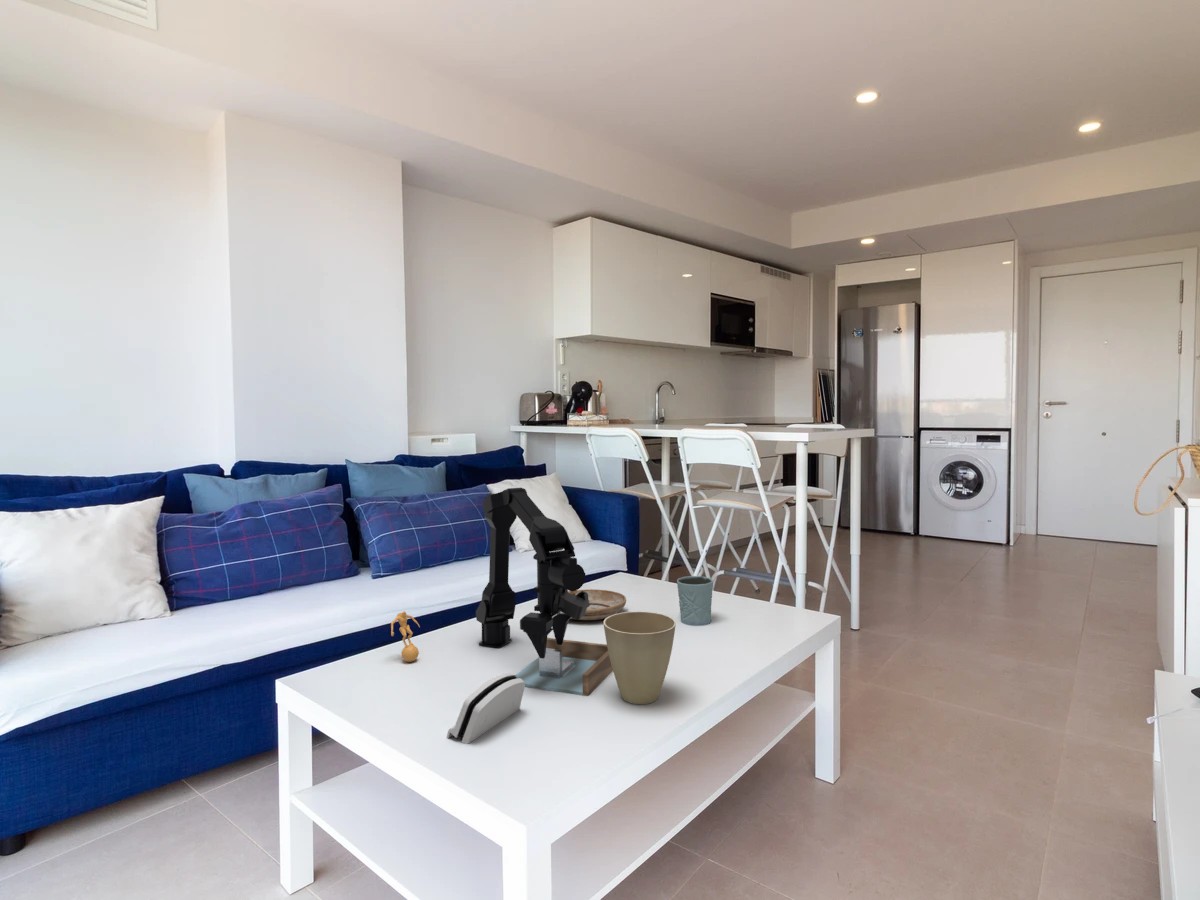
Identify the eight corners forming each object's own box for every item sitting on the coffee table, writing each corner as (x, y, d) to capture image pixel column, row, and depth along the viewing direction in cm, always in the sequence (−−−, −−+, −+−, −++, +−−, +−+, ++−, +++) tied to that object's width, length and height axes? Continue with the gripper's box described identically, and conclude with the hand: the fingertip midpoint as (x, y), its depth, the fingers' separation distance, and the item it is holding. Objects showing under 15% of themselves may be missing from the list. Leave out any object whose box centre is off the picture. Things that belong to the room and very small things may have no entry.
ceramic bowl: (599, 600, 214) (599, 584, 214) (641, 618, 194) (641, 601, 194) (535, 611, 202) (534, 595, 201) (572, 631, 182) (572, 613, 181)
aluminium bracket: (559, 678, 146) (559, 651, 146) (539, 675, 148) (539, 649, 148) (574, 666, 154) (573, 640, 153) (554, 663, 155) (554, 638, 155)
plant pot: (589, 699, 136) (588, 623, 136) (633, 678, 148) (632, 607, 147) (648, 720, 127) (647, 638, 126) (690, 695, 138) (689, 619, 138)
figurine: (401, 668, 155) (400, 617, 155) (385, 663, 159) (384, 613, 158) (429, 657, 162) (428, 609, 162) (413, 653, 166) (411, 605, 165)
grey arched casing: (499, 703, 135) (512, 660, 133) (518, 715, 133) (531, 672, 131) (444, 738, 120) (458, 691, 118) (464, 752, 118) (478, 704, 116)
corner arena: (506, 684, 145) (506, 664, 145) (544, 655, 163) (544, 637, 163) (588, 695, 138) (587, 675, 138) (618, 664, 156) (618, 645, 156)
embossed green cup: (718, 619, 191) (718, 578, 190) (704, 629, 182) (704, 585, 182) (686, 614, 196) (686, 574, 196) (671, 623, 188) (671, 581, 187)
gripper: (566, 595, 135) (567, 670, 136) (599, 575, 153) (599, 641, 153) (518, 590, 139) (519, 664, 140) (555, 571, 157) (556, 637, 157)
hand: (551, 651), depth 148 cm, fingers open, 9 cm apart
